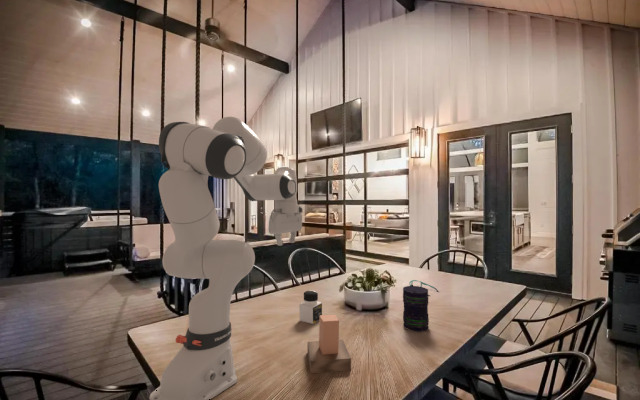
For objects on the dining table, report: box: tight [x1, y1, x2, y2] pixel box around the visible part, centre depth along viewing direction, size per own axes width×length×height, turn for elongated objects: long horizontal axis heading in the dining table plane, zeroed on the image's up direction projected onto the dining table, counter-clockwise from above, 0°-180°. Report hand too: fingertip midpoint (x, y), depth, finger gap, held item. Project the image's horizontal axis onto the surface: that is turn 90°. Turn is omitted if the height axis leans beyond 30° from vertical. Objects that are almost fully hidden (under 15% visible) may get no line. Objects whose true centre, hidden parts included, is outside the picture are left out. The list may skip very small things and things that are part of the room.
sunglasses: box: [409, 279, 440, 297], centre depth 164 cm, size 14×15×5 cm
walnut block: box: [307, 339, 352, 374], centre depth 91 cm, size 12×12×4 cm
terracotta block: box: [318, 314, 340, 355], centre depth 91 cm, size 5×5×10 cm
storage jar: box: [402, 285, 430, 333], centre depth 116 cm, size 10×10×15 cm
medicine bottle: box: [298, 289, 323, 325], centre depth 123 cm, size 7×7×12 cm
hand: (286, 243), depth 114 cm, fingers open, 8 cm apart
